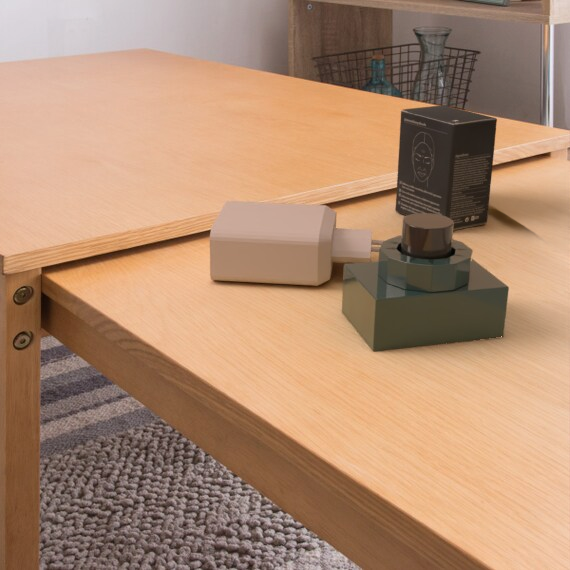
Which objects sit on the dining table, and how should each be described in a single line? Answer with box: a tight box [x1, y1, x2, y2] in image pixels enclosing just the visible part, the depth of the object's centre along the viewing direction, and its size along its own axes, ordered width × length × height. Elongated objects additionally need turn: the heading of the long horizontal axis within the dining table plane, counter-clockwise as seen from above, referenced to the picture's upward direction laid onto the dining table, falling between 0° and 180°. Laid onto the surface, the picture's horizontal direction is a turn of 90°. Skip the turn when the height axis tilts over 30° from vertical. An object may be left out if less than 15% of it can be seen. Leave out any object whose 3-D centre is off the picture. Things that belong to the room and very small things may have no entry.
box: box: [395, 105, 498, 231], centre depth 91 cm, size 8×6×11 cm
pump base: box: [341, 234, 510, 353], centre depth 68 cm, size 10×7×6 cm
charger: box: [209, 200, 385, 287], centre depth 78 cm, size 5×9×15 cm
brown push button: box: [401, 213, 454, 260], centre depth 66 cm, size 4×4×2 cm
